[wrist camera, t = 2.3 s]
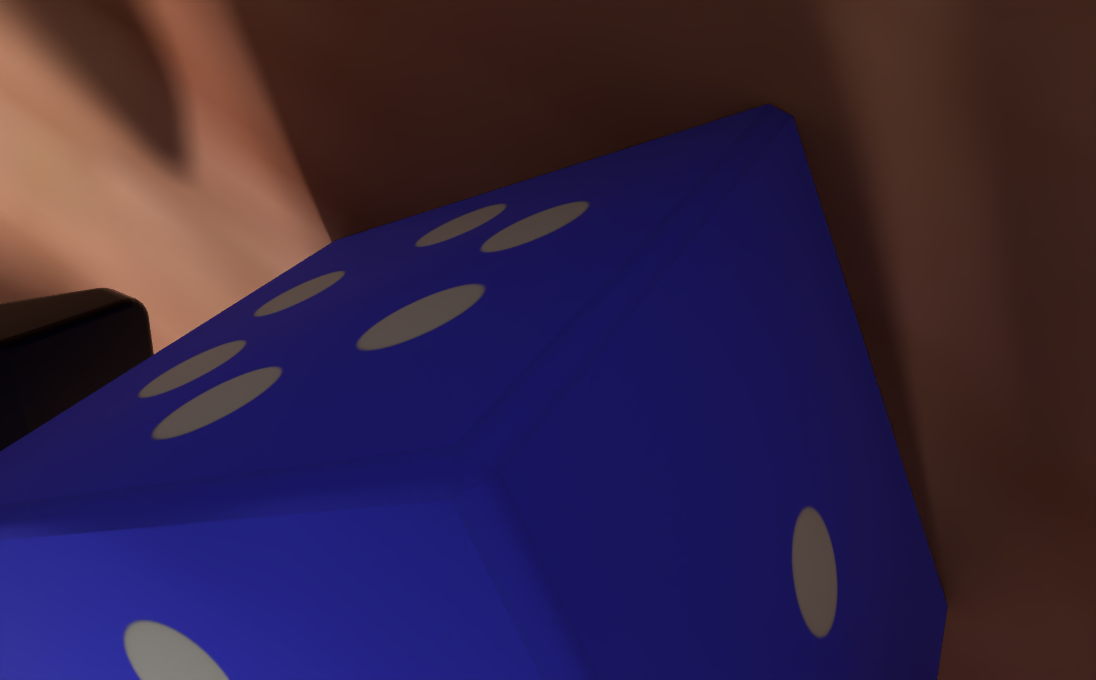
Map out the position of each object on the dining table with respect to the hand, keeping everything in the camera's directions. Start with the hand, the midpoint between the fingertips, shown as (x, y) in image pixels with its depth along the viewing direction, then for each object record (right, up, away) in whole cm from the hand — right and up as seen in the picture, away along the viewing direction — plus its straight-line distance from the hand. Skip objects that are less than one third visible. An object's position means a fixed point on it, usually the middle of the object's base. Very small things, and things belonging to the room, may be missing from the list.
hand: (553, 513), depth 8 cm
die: (+1, +1, +1) cm, 2 cm away
